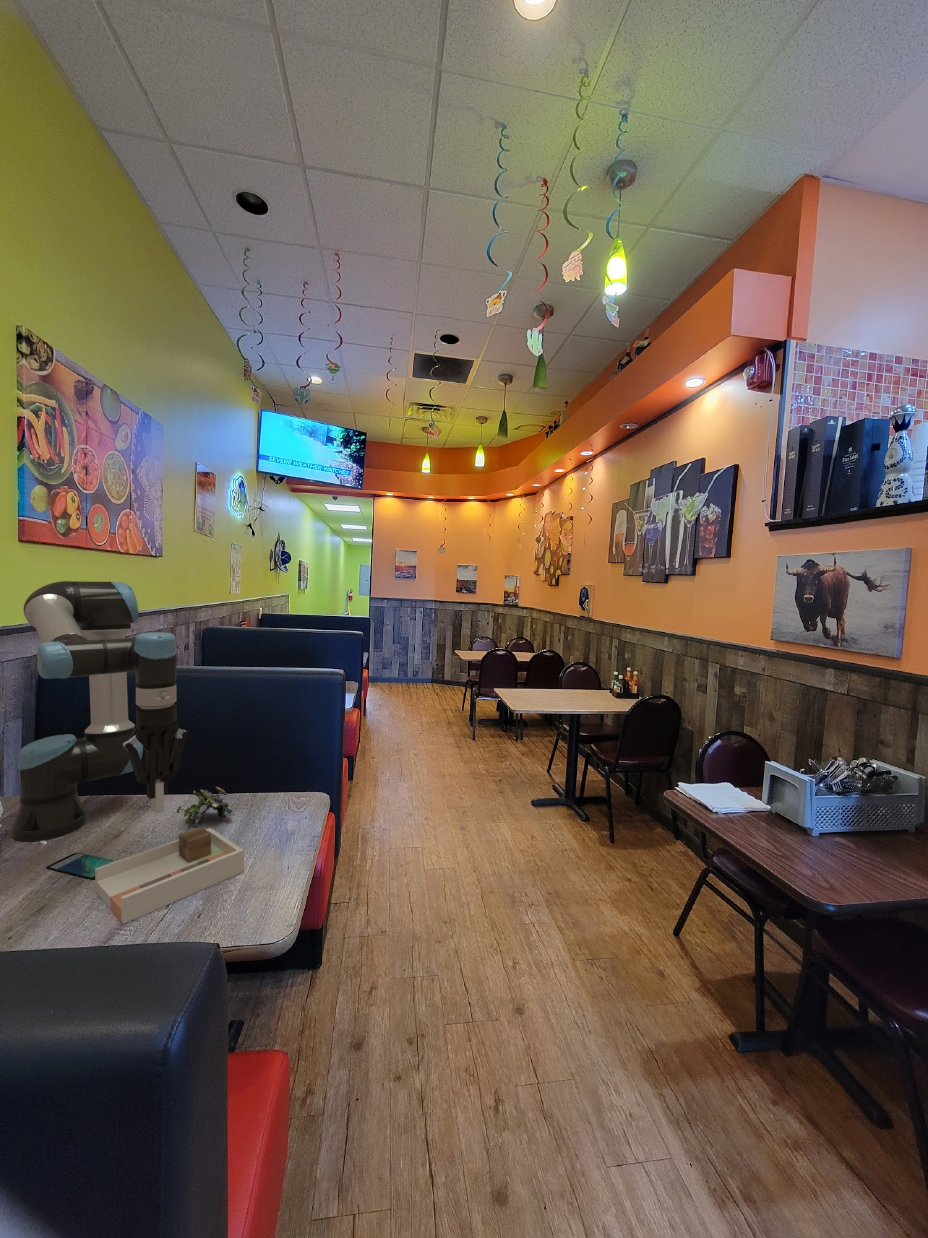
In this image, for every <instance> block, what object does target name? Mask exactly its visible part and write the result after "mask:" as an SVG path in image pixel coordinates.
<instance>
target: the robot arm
mask: <svg viewBox="0 0 928 1238" xmlns="http://www.w3.org/2000/svg"><path fill="white" fill-rule="evenodd" d="M22 609H23V615H24V617H25V619H26V621H27V623H28V624H29V625H30V626H32V628H35V629H36V632H37V634H38V636H39V638H40V640H41V642H42V643H41V644H39V646H37V651H36V652H37V653H36V655H37V656H36V658H37V660H36V661H37V669H38V675H39V676H40V677H41V678H43V679H44V680H45V679H46V680H47V679H48V680H49V679H62V680H63V679H69V678H76V677H79V678H80V677H86V676H89V678H88V679H89V705H90V706H89V707H90V724H89V726H88V727H87V728H86V729H85V730H84V737H83V738H77V737H76V736H75V735H74V734H71V733H70V734H68V733H67V734H66V733H65V734H58V735H52V736H47V737H43V738H41V739H37V740H34V741H33V742H30V743H28V744H26V745H25V746H23V747H22V748H21V749H20V751H19V753H18V765H17V769H18V773H19V775H18V776H19V777H18V778H19V807H18V809H17V811H16V815H15V817H14V819H13V820H14V821H13V822H12V826H11V837H12V839H13V840H15V841H19V842H38V841H43V840H49V839H53V838H57V837H60V836H64V835H67V834H69V833H71V832H74V831H76V830H78V829H79V828H81V827H82V826H83V825H84V824H85V823H86V821H87V817H86V816H87V815H86V814H87V813H86V812H87V811H86V809H85V807H84V805H83V804H82V801H81V799H80V797H79V795H78V784H80V783H81V784H82V783H86V782H91V781H96V780H101V779H107V778H109V777H114V776H117V777H118V776H121V775H124V774H128V773H131V772H133V774H134V777H135V781H136V782H137V783H139V784H141V785H146V797H147V798H148V799H149V800H150V801H151V805H150V806H151V807H150V808H151V811H153V812H154V813H155V814H160V813H163V812H164V811H165V799H164V798H165V795H168V793H169V782H170V781H171V778H172V777H176V776H177V775H178V774H179V768H180V766H181V761H182V756H183V751H184V747H185V745H186V742H187V740H188V738H189V737H190V732H189V731H187V730H185V729H182V728H179V727H180V726H179V725H178V723H177V718H178V717H177V716H178V715H177V713H178V712H177V711H178V710H177V707H178V706H177V704H175V703H176V702H177V653H178V648H177V639H176V636H175V635H174V634H173V633H171V632H164V631H163V632H162V631H161V632H159V631H158V632H156V631H155V632H152V631H151V632H142V633H138V635H133V636H129V637H127V638H126V635H127V634H128V633H129V632H130V631H131V630H132V624H135V623H137V622H138V620H139V605H138V601H137V597H136V594H135V591H134V589H133V588H132V587H131V586H130V585H129V584H128V583H125V582H119V581H79V580H77V581H76V580H75V581H73V580H72V581H71V580H64V581H63V580H62V581H55V582H51V583H48V584H45V585H43V586H41V587H39V588H37V589H36V590H34V591H33V592H32V593H31V594H29V596H28V597H27V598H26V600H25V602H24V606H23V608H22ZM130 672H135V705H136V706H137V707H136V709H135V719H136V720H135V723H133V722H132V721H131V720H129V706H128V702H129V701H128V679H127V678H128V677H127V675H128V674H127V673H130ZM135 727H136V728H135ZM174 738H175V739H174ZM173 739H174V740H173ZM172 741H174V742H173V745H172V750H171V753H170V752H169V751H170V749H171V748H170V747H171V746H170V744H171V742H172ZM143 752H145V754H144V756H145V757H144V758H145V759H144V761H145V762H144V764H145V765H144V766H145V770H144V767H143V763H142V759H143ZM169 754H170V755H169ZM157 755H158V757H157ZM169 756H170V757H169ZM157 759H158V760H157ZM157 761H158V762H157ZM157 763H158V767H157ZM157 769H158V770H157ZM157 771H158V778H157Z"/></svg>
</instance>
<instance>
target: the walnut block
mask: <svg viewBox="0 0 928 1238" xmlns="http://www.w3.org/2000/svg"><path fill="white" fill-rule="evenodd" d="M178 839H179V856H181V857H182V858H183V859H184V860H185V861H187V862H188V863H190V862H193V861H196V860H198V859H201V858H203V857H206V856H208V855H211V833H210V832H208V831H207V830H206V829H205V828H204V827H202V826H199V827H196V828H193V829H191V830H190V829H189V830H187V831H185V832H181V833H178Z"/></svg>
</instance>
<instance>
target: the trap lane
mask: <svg viewBox="0 0 928 1238" xmlns="http://www.w3.org/2000/svg"><path fill="white" fill-rule="evenodd" d="M205 830H207V831H208V832H210V833H211V855H208V856H206V857H203V858H201V859H198V860H196V861H193V862H190V863H188V862H187V861H185V860H184V859H183V858H182V857H181V856H179V838H177V839H175V840H173V841H169V842H167V843H164V844H161V845H158V846H155V847H153V848H149V849H146V850H144V851H141V852H139V853H135V854H132V855H130V856H127V857H124V858H121V859H118V860H114V861H115V862H112V863H109V864H106V865H103V866H101V867H98V868H95V880H94V881H95V882H94V884H95V887H94V888H95V889H94V891H95V893H96V892H97V893H96V894H97V895H98V896H99V897H100V899H101V900H102V901H103V902H104V903H105V904H106V906H107V907H108V908H109V910H111V911H112V912H113V914H114V915H115V916H116V917H117V918H118V920H119V921H120V922H121V923H122V924H123V925H125V924H127V923H129V922H132V921H133V920H136V919H138V918H141V917H144V916H145V915H148V914H149V913H152V912H154V911H157V910H158V909H161V908H164V907H166V906H168V905H170V904H173V903H175V902H177V901H179V900H181V899H184V898H186V897H188V896H190V895H193V894H195V893H197V892H200V891H202V890H204V889H207V888H210V887H211V886H213V885H216V884H218V883H220V882H221V883H222V882H223V881H225V880H228V879H230V878H233V877H234V876H237V875H239V874H241V873H243V872H244V871H245V870H244V869H245V863H244V862H245V859H244V858H245V856H244V855H245V854H244V852H245V851H244V849H243V848H241V847H240V846H238V845H236V844H235V843H233V842H232V841H231V840H229V839H228V838H226V837H224V835H222V834H220V833H219V832H217V831H216V830H214V829H212V827H209V828H207V829H205Z"/></svg>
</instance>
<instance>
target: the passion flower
mask: <svg viewBox="0 0 928 1238" xmlns="http://www.w3.org/2000/svg"><path fill="white" fill-rule="evenodd" d="M215 789H216V790H217V791H218V792H219V793H218V794H215V795H214V794H213V793H212V792H210V791H208V790H206V789H204V790H203V789H200V790H199V792H196V791H195V790H193V795H194V796H196V797H197V798H198V802H197V804H196V803H193V804H191V805H190V807H188V808H186V809H183V808H182V806H180V805H179V806H178V807H177V809H176V812H177V813H178V814H180V810H181V811H184V814H183V817H187V816H188V817H187V818H186V820H185V824H188V821H189V820H190V818H191V817H193V818H194V820H195V824H194V826H193V827H192V828H193V829H195V827H196V826H197V824H198V823H199V822H200V821H201V820H202V819H203V817H204V815H205V814H206V812H207V811H208V810H209V809H210V808H212V810H214V811H216V812H217V815H218V817H219V818H225V819H226V818H227V814H232V813H233V810H232V809H230V808H229V807H230V805H229V802H227V801H224V799H225V798H223V797H220V796H221V795H224V796H227V795H228V793H226V791H225V790H224V788H221V787H220V786H215ZM202 806H206V807H205V809H204V810H203V811H202V812H201V811H200V810H201V807H202ZM226 813H227V814H226Z"/></svg>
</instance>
